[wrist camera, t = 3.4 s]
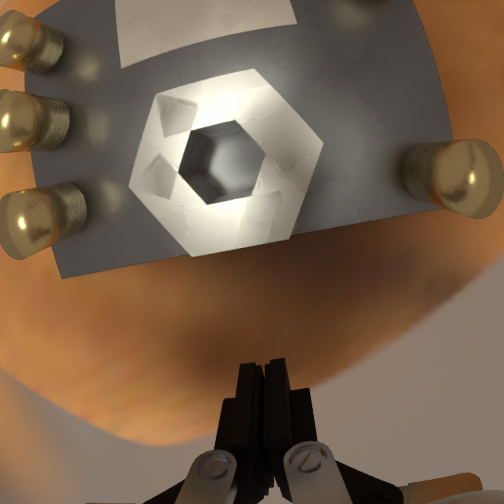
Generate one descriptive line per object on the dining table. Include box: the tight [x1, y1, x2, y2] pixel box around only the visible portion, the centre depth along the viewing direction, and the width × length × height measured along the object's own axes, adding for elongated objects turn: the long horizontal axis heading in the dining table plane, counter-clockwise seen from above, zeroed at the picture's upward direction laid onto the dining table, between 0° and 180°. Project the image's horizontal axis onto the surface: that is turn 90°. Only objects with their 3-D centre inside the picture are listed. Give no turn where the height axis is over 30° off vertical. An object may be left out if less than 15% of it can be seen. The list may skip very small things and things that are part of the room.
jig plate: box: [0, 0, 504, 279], centre depth 8 cm, size 14×18×4 cm
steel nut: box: [128, 68, 324, 257], centre depth 9 cm, size 5×6×2 cm
